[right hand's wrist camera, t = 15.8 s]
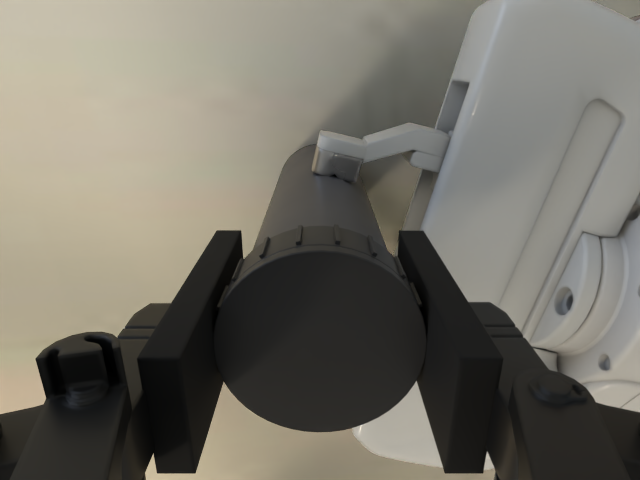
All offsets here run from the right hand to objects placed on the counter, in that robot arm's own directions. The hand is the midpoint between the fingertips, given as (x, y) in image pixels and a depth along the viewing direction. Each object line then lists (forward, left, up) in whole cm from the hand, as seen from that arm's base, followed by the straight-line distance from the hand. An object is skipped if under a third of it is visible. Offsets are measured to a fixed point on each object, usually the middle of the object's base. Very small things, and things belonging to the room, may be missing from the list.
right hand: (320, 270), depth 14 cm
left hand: (0, +1, -5) cm, 5 cm away
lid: (0, 0, +4) cm, 4 cm away
